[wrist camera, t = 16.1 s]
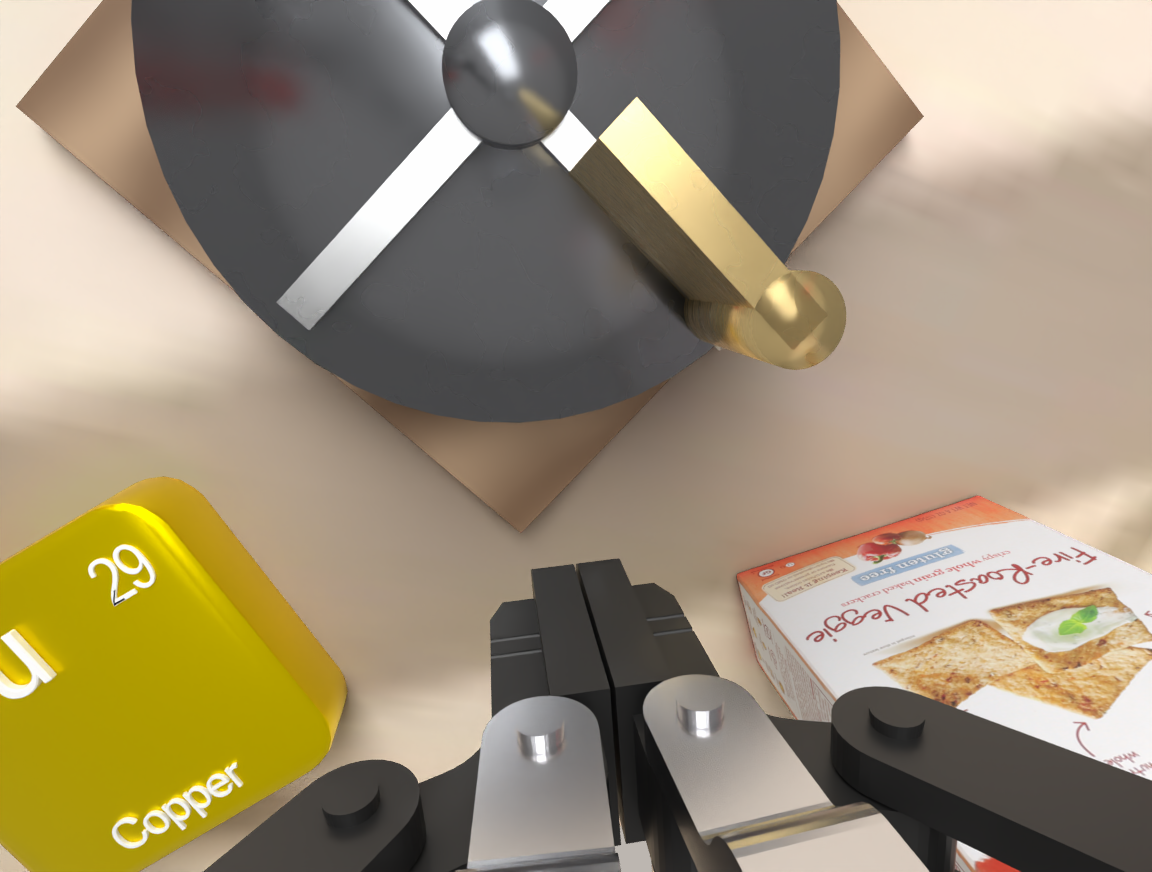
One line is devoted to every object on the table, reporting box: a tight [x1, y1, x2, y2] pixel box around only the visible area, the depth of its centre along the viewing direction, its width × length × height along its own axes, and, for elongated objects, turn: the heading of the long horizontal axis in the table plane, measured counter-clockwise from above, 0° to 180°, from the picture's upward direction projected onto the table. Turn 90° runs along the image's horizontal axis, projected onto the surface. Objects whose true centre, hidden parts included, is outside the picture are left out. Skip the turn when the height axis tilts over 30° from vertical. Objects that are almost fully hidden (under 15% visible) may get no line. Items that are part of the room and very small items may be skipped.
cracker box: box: [737, 496, 1152, 872], centre depth 27 cm, size 14×6×21 cm, turn 106°
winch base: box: [16, 0, 924, 533], centre depth 27 cm, size 27×26×5 cm
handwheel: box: [131, 0, 846, 423], centre depth 21 cm, size 24×24×8 cm
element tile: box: [0, 477, 348, 872], centre depth 31 cm, size 15×15×5 cm
